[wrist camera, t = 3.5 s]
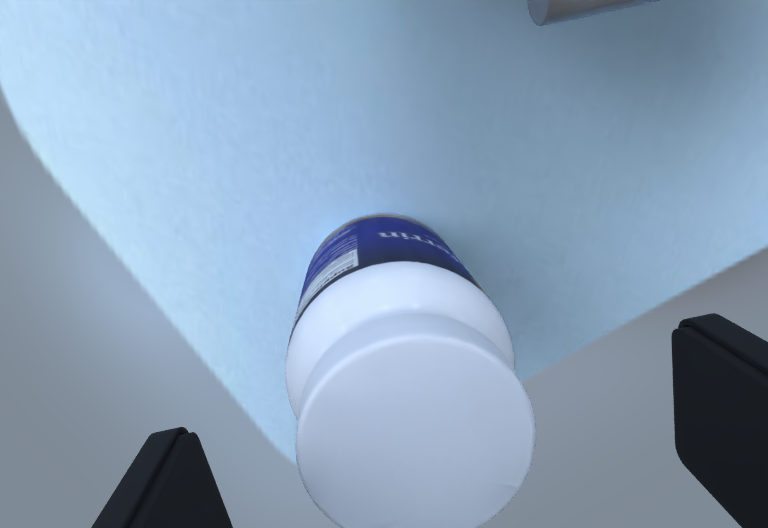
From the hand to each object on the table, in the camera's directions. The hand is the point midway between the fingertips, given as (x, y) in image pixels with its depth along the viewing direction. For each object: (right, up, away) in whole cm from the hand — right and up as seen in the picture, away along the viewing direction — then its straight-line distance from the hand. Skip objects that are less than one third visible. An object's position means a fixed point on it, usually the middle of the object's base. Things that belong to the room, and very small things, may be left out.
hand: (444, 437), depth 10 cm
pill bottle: (-1, +3, +9) cm, 10 cm away
